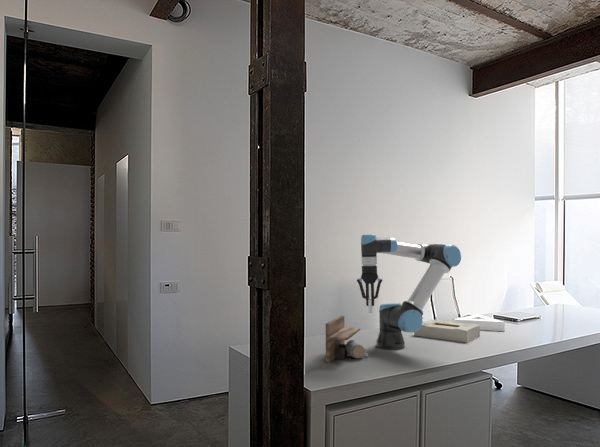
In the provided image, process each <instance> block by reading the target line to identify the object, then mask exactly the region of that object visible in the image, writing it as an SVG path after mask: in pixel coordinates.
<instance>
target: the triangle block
mask: <svg viewBox="0 0 600 447" xmlns="http://www.w3.org/2000/svg"><path fill="white" fill-rule="evenodd" d="M453 322H455V323H464V324H465V323H469V324H478V325H479V326H480V331H493V332H494V331H497V332H505V329H506V327H505V321H502V320H499V319H495V318H493V317H489V316H485V315H482V314H474V315H469V316H468V315H467V316H464V317H460V318H454V319H453Z"/></svg>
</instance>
